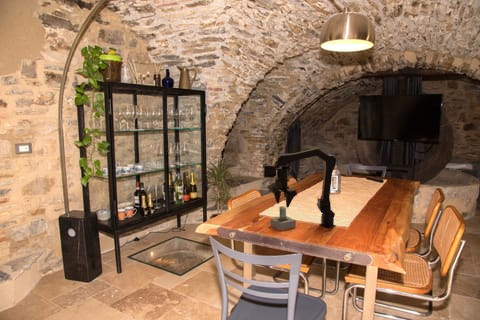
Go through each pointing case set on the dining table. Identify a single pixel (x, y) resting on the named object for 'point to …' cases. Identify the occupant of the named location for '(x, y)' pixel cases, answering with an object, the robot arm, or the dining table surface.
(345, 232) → the dining table surface
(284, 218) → the peg
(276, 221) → the socket block
